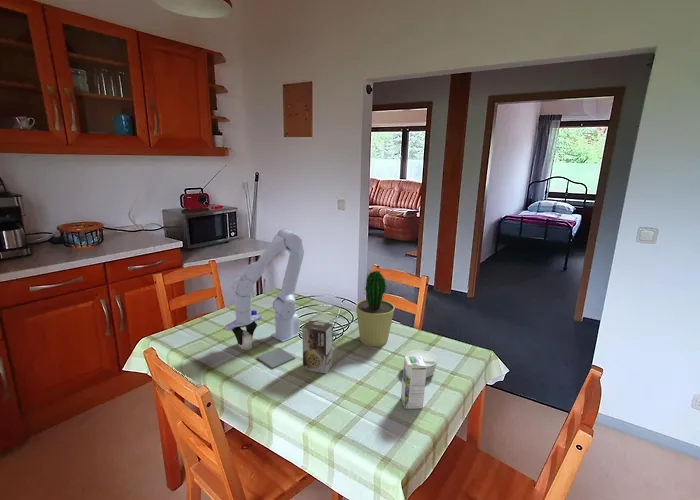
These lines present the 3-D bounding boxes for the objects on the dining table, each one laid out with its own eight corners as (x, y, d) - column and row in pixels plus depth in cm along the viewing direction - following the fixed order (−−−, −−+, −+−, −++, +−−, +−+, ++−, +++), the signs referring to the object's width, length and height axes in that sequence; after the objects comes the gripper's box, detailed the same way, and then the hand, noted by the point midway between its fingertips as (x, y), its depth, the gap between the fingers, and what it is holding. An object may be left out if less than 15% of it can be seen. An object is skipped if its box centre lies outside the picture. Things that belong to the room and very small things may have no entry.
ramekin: (416, 383, 124) (418, 369, 123) (397, 366, 134) (398, 353, 132) (442, 375, 129) (444, 361, 128) (422, 359, 139) (423, 347, 138)
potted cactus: (387, 352, 143) (392, 278, 136) (350, 345, 148) (352, 272, 141) (396, 334, 158) (400, 266, 150) (361, 328, 162) (363, 262, 155)
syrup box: (400, 397, 117) (403, 355, 113) (418, 396, 117) (422, 355, 114) (404, 409, 111) (407, 366, 108) (423, 408, 112) (427, 365, 108)
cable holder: (247, 326, 162) (246, 318, 161) (241, 324, 164) (240, 316, 163) (259, 319, 169) (259, 311, 168) (253, 318, 171) (253, 309, 170)
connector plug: (244, 341, 149) (243, 327, 147) (253, 347, 144) (253, 333, 143) (236, 344, 146) (235, 330, 145) (245, 350, 142) (245, 336, 140)
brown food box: (333, 365, 134) (333, 323, 130) (326, 374, 128) (326, 331, 124) (309, 360, 137) (309, 319, 133) (302, 369, 131) (301, 326, 127)
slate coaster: (278, 348, 144) (278, 347, 144) (295, 358, 137) (295, 357, 137) (256, 358, 137) (256, 356, 137) (272, 369, 130) (272, 367, 130)
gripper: (253, 301, 149) (255, 332, 153) (220, 311, 139) (222, 344, 142) (264, 306, 145) (265, 338, 148) (230, 317, 134) (231, 351, 138)
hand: (244, 342), depth 145 cm, fingers closed on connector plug, 4 cm apart
